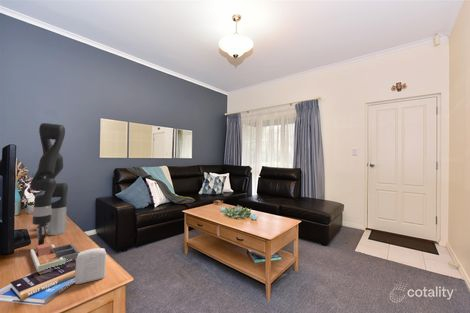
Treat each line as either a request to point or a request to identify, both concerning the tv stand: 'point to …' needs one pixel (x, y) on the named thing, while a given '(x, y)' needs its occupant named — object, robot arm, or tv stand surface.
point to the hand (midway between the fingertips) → (40, 245)
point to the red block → (43, 249)
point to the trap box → (61, 252)
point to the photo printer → (90, 265)
